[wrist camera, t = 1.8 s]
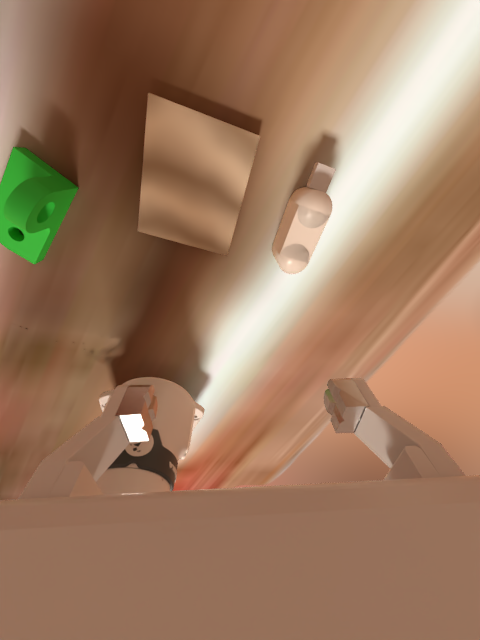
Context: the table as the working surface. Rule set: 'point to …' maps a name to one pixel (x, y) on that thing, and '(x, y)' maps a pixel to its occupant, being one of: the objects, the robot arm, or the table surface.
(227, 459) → the table surface
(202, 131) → the birch board
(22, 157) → the mechanical part
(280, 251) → the connector
